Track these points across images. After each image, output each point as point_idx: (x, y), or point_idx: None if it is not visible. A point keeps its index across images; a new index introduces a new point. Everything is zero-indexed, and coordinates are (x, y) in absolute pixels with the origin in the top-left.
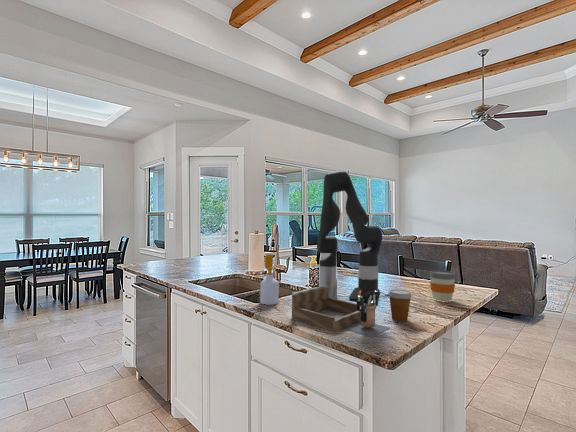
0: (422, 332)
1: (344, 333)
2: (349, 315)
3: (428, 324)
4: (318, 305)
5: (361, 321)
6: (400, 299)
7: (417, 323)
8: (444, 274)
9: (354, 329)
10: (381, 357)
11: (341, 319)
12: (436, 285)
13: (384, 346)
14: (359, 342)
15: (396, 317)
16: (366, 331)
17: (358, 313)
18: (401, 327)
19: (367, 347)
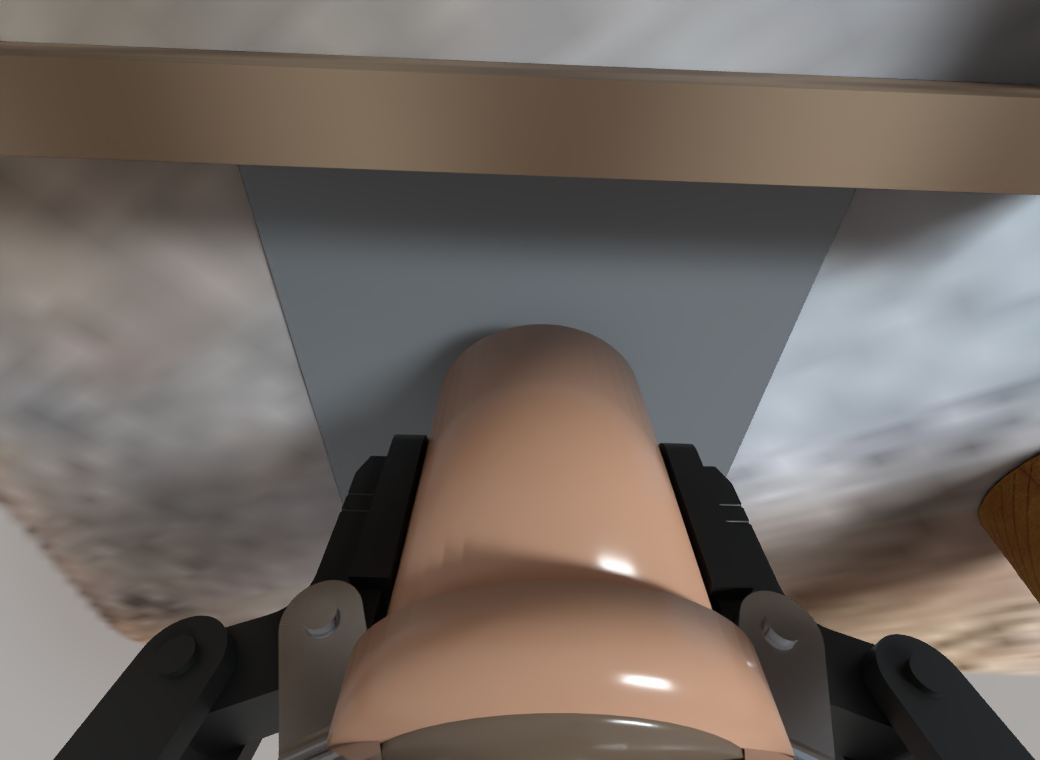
0: None
1: (115, 262)
2: (421, 157)
3: (957, 631)
4: None
5: (439, 409)
6: None
7: (962, 593)
8: None
9: (355, 292)
10: (121, 622)
11: (25, 150)
12: None
13: (273, 592)
14: (130, 479)
15: (1024, 523)
16: (423, 418)
17: (850, 177)
18: (779, 555)
19: (132, 544)
